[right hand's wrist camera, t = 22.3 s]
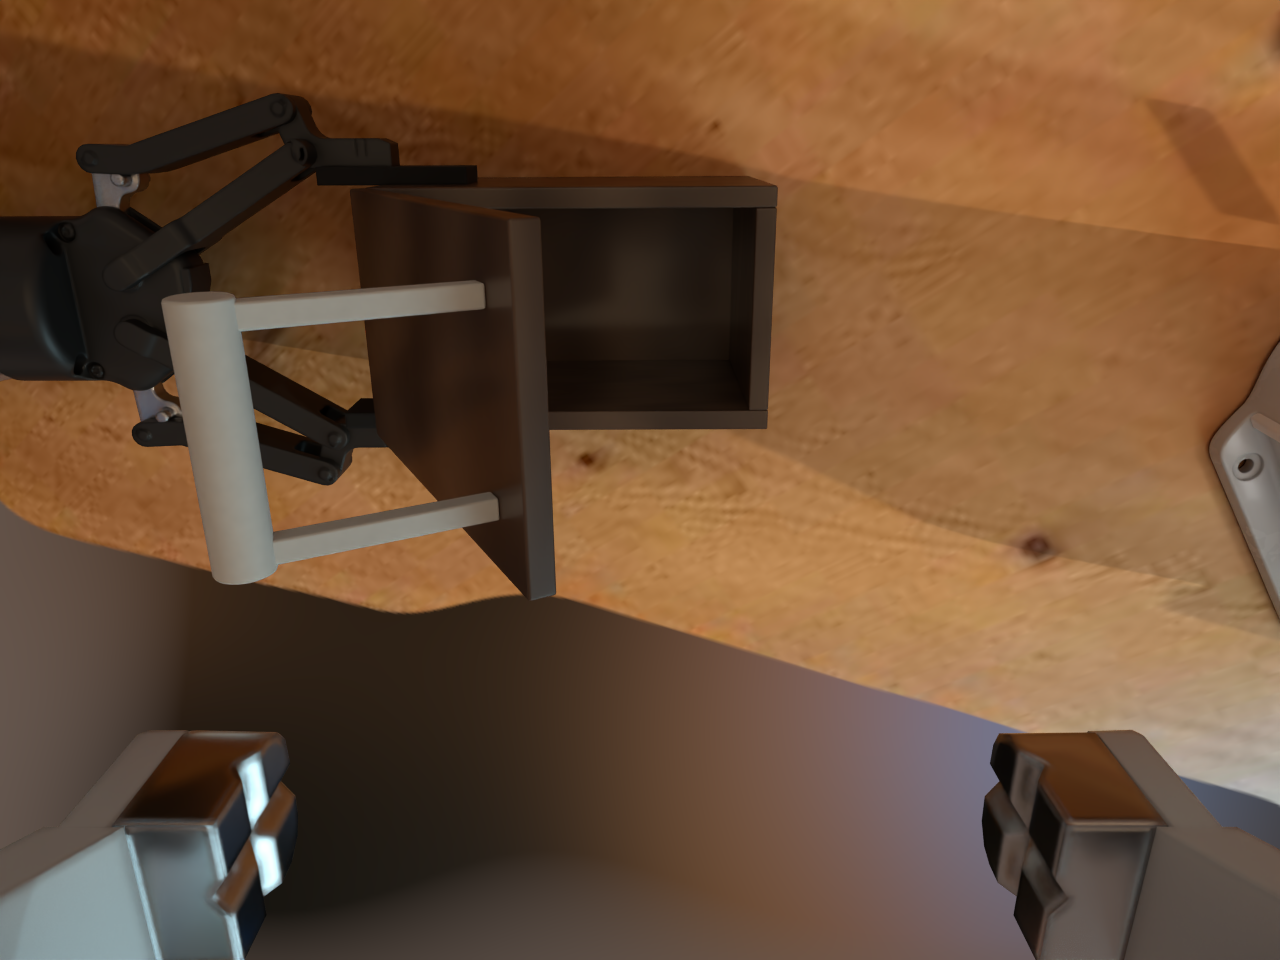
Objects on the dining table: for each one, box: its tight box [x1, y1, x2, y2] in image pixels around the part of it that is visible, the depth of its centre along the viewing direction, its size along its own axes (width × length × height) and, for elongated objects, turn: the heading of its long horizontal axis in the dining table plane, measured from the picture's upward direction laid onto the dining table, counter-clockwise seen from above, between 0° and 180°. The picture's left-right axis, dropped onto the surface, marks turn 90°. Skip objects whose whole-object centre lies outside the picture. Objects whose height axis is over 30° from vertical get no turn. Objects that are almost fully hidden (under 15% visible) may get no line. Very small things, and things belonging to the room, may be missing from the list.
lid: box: [161, 188, 556, 601], centre depth 29 cm, size 18×10×8 cm
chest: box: [368, 176, 778, 430], centre depth 44 cm, size 17×10×11 cm, turn 90°
